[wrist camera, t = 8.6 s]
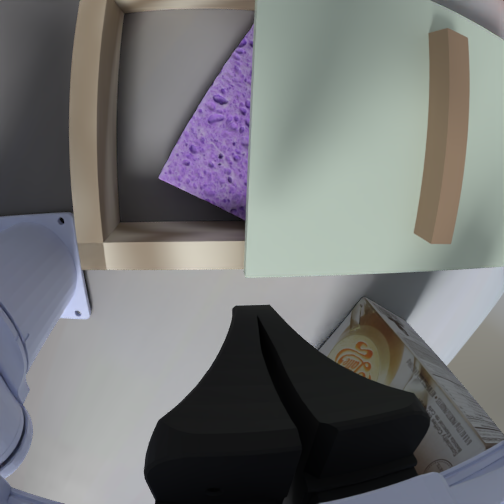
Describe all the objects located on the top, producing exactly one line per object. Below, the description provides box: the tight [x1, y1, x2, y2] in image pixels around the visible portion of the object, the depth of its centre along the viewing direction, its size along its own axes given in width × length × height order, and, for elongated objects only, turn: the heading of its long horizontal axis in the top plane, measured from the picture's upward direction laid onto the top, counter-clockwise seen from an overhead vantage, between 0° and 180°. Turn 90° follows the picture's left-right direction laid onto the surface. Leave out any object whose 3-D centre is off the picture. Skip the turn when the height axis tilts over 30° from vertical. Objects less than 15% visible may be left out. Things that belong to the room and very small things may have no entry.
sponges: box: [158, 24, 254, 221], centre depth 17 cm, size 7×13×2 cm, turn 149°
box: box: [69, 0, 255, 270], centre depth 17 cm, size 21×17×4 cm
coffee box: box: [319, 297, 504, 475], centre depth 19 cm, size 9×6×16 cm
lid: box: [244, 0, 504, 278], centre depth 15 cm, size 21×17×3 cm
